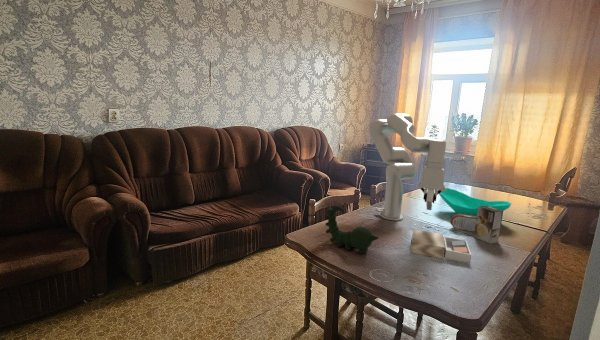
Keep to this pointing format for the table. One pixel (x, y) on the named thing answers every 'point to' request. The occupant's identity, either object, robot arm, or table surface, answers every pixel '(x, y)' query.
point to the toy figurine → (348, 233)
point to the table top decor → (469, 202)
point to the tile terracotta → (461, 249)
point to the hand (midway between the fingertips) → (429, 201)
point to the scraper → (429, 198)
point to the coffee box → (488, 224)
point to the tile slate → (458, 244)
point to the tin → (464, 222)
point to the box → (455, 255)
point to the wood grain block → (428, 243)
